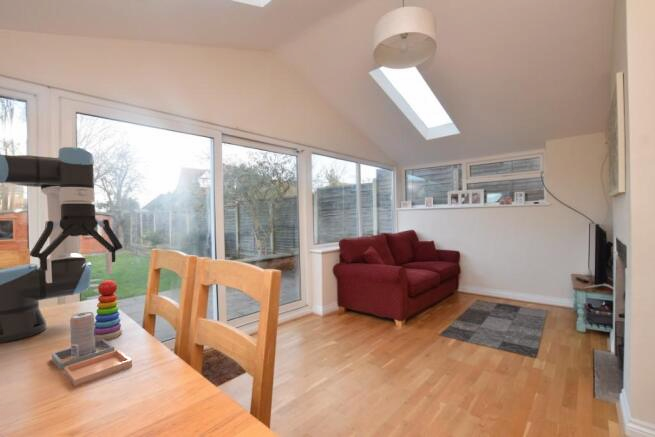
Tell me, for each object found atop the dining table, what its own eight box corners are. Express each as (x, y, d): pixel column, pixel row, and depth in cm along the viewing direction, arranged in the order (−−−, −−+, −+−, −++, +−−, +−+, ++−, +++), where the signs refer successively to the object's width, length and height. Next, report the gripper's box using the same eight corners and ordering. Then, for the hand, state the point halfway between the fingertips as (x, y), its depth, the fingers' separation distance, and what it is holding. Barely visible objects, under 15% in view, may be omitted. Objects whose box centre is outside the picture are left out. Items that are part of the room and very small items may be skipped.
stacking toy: (106, 342, 95) (104, 283, 95) (86, 340, 97) (84, 283, 97) (127, 332, 103) (126, 278, 103) (108, 331, 105) (106, 277, 104)
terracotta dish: (63, 374, 77) (63, 367, 77) (118, 355, 86) (118, 349, 86) (74, 387, 71) (74, 380, 71) (132, 366, 80) (131, 359, 80)
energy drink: (92, 350, 90) (91, 310, 90) (97, 355, 87) (96, 314, 86) (69, 357, 86) (67, 315, 86) (74, 362, 83) (72, 319, 82)
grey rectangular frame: (51, 359, 85) (51, 353, 85) (103, 344, 94) (102, 338, 94) (60, 370, 78) (60, 363, 78) (114, 353, 88) (114, 346, 88)
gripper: (17, 202, 73) (21, 288, 73) (132, 203, 93) (135, 271, 93) (12, 203, 78) (16, 284, 78) (123, 204, 97) (125, 269, 98)
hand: (81, 277), depth 86 cm, fingers open, 13 cm apart
